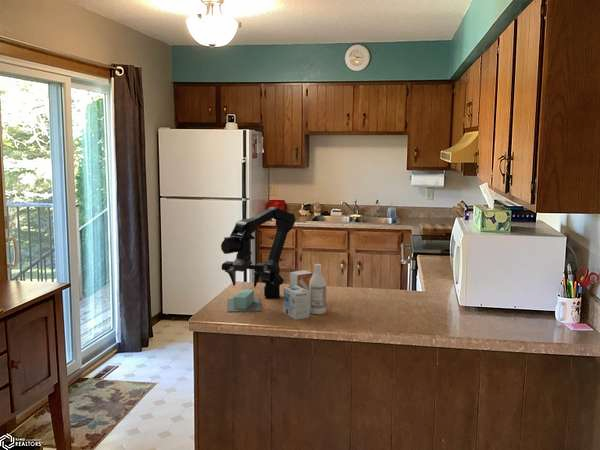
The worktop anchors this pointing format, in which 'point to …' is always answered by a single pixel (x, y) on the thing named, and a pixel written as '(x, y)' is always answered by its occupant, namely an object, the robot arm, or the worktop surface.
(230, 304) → the mat
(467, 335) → the worktop surface
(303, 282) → the small box
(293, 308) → the light bulb box
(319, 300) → the bath foam
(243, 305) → the teal block
